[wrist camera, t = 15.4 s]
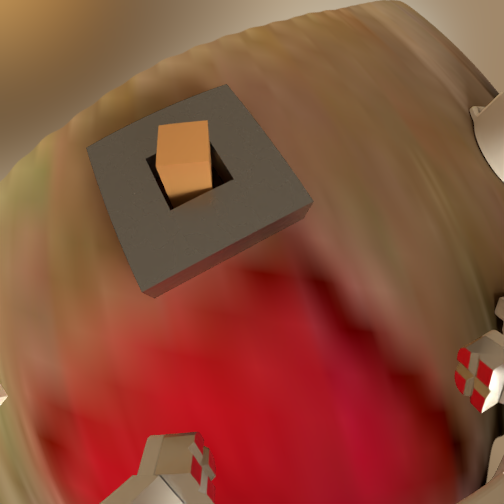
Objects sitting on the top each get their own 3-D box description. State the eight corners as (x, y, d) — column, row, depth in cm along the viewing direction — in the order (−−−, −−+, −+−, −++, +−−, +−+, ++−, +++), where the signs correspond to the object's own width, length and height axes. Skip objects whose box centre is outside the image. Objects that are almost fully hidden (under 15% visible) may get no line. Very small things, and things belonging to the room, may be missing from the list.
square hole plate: (226, 107, 32) (226, 84, 29) (303, 218, 29) (313, 201, 25) (99, 167, 29) (86, 147, 26) (154, 298, 26) (141, 292, 22)
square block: (212, 169, 30) (207, 120, 22) (214, 205, 29) (209, 161, 21) (173, 173, 30) (158, 125, 22) (173, 208, 29) (155, 166, 21)
